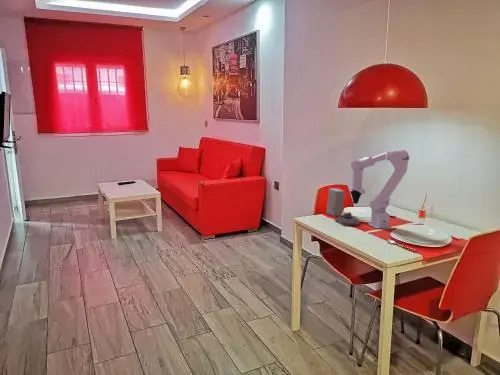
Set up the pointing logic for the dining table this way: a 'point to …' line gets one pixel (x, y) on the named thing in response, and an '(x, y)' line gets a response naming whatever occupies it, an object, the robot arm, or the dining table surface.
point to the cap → (346, 214)
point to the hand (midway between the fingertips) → (355, 203)
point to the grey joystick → (347, 220)
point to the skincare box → (335, 202)
